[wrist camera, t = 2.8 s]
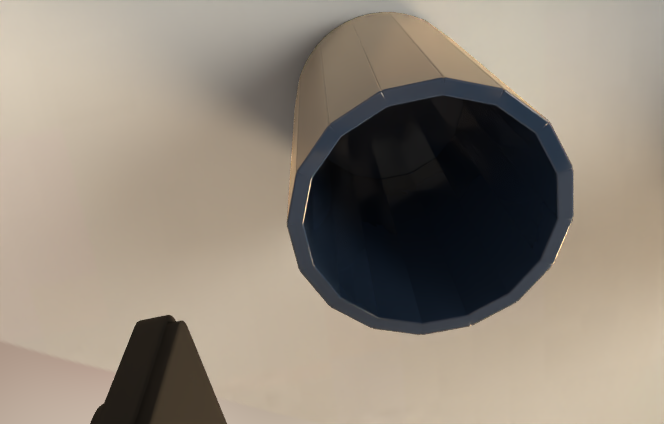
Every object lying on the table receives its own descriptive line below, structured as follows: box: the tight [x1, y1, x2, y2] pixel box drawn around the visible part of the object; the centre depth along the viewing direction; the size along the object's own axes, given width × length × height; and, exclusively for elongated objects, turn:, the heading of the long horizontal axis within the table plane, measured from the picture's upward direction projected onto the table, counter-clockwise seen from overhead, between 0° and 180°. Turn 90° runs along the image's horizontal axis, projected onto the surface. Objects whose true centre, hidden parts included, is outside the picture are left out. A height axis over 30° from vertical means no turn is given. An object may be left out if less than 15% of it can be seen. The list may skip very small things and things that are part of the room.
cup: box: [287, 12, 573, 335], centre depth 18 cm, size 7×7×10 cm
